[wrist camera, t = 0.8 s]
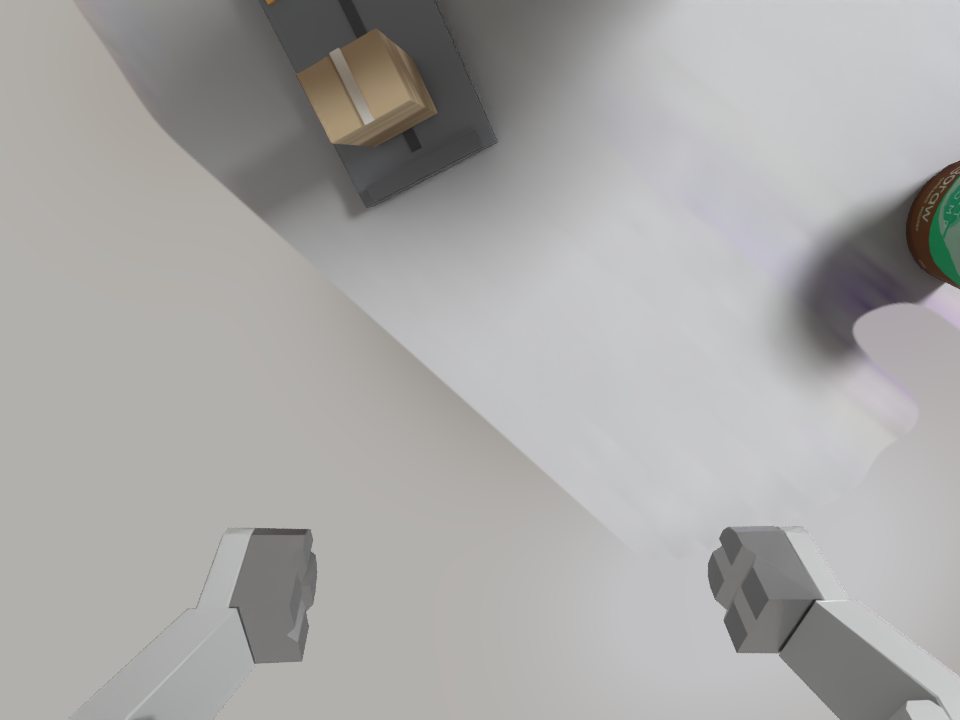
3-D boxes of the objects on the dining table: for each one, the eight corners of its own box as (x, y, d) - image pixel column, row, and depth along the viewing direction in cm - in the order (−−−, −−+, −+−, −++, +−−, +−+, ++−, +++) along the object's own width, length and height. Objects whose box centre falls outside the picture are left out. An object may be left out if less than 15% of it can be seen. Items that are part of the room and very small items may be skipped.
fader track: (497, 142, 45) (494, 140, 42) (373, 206, 48) (362, 209, 45) (334, -224, 39) (317, -256, 36) (201, -129, 41) (174, -152, 38)
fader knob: (438, 113, 43) (409, 100, 33) (376, 147, 44) (330, 144, 34) (412, 57, 42) (374, 26, 32) (349, 93, 43) (294, 73, 33)
